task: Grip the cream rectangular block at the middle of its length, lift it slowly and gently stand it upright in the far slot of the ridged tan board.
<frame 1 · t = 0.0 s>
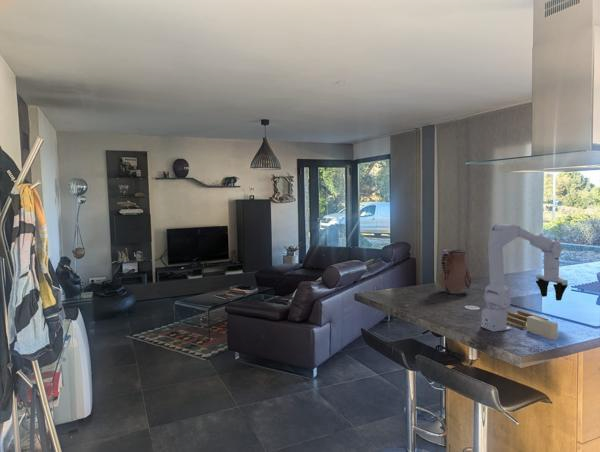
hand: (551, 298, 185), 10 cm above the worktop, tool pointing down, fingers open, 7 cm apart
ceramic pitcher: (453, 293, 245), on the worktop
ridged tan board: (521, 321, 186), on the worktop
cream rectangular block: (541, 334, 168), on the worktop
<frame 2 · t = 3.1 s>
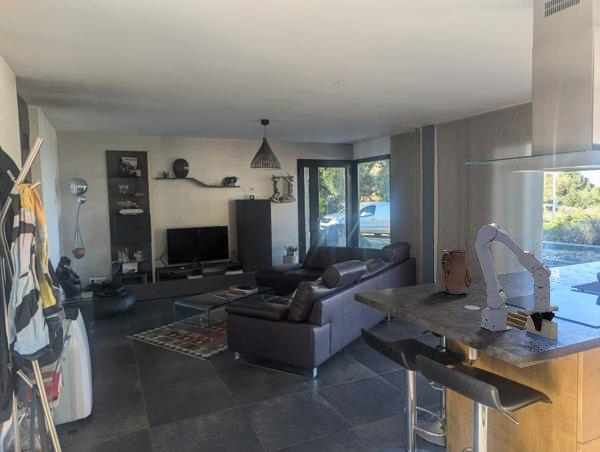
hand: (541, 330, 168), 2 cm above the worktop, tool pointing down, fingers closed on cream rectangular block, 3 cm apart
cream rectangular block: (541, 334, 168), on the worktop, touching gripper
everything else where it was.
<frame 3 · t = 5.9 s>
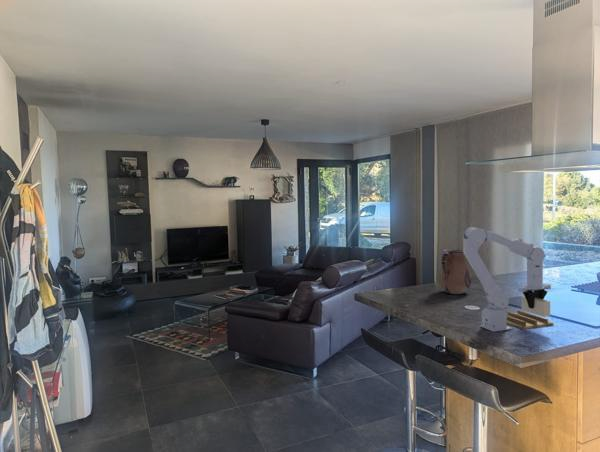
hand: (534, 307, 176), 9 cm above the worktop, tool pointing down, fingers closed on cream rectangular block, 3 cm apart
cream rectangular block: (535, 312, 176), point 6 cm above the worktop, touching gripper
everything else where it was.
when the fingers open (4 cm above the worktop, at t = 8.8 s): cream rectangular block stays where it is, resting on ridged tan board.
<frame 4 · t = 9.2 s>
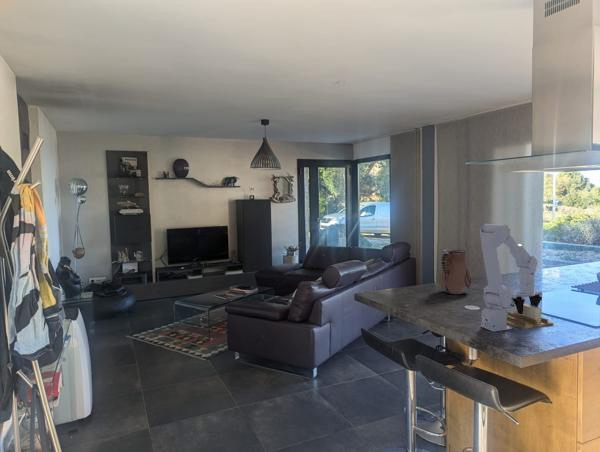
hand: (526, 312, 186), 4 cm above the worktop, tool pointing down, fingers open, 7 cm apart
cream rectangular block: (527, 318, 186), point 1 cm above the worktop, touching ridged tan board
everything else where it was.
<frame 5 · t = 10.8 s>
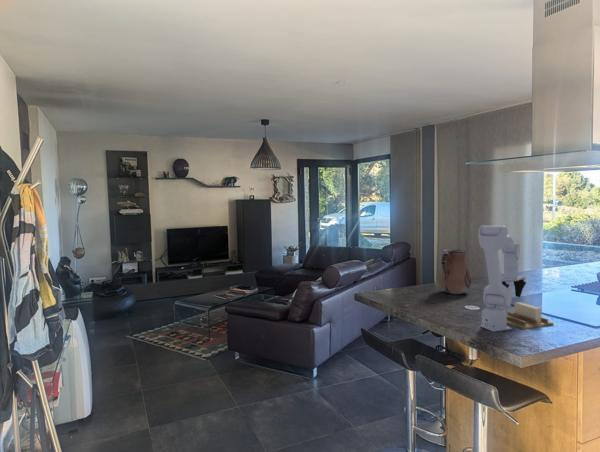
hand: (511, 297, 191), 9 cm above the worktop, tool pointing down, fingers open, 7 cm apart
nothing on the worktop moved.
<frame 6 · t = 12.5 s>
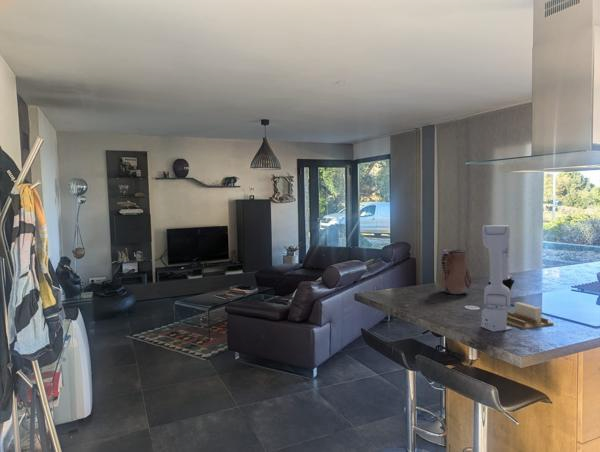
hand: (501, 296, 195), 9 cm above the worktop, tool pointing down, fingers open, 7 cm apart
nothing on the worktop moved.
at the end: cream rectangular block 0.3 cm from the target spot on the ridged tan board, point 1.0 cm above the ridged tan board's base; cream rectangular block tilted 0°; the gripper is holding nothing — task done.
